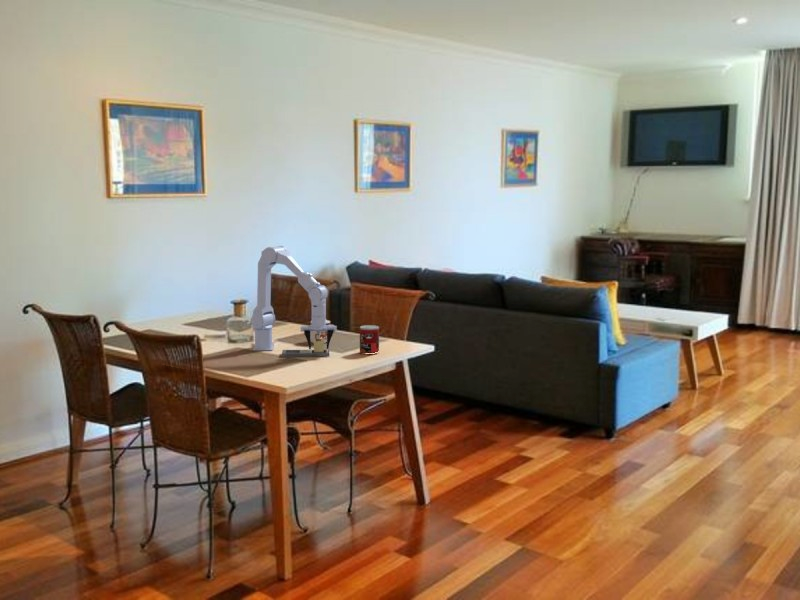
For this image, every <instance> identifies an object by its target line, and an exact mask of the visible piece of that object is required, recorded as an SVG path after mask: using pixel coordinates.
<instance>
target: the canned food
mask: <svg viewBox="0 0 800 600" xmlns="http://www.w3.org/2000/svg"><path fill="white" fill-rule="evenodd" d="M378 351H380V327H379V325H375V324H373V325H371V324H370V325H369V324H368V325H361V326H360V327H359V353H360V352H361V353H375V352H378ZM361 353H360V354H361ZM378 353H379V352H378Z"/></svg>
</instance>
